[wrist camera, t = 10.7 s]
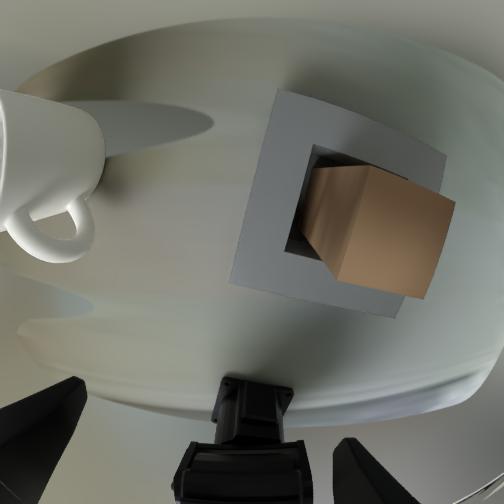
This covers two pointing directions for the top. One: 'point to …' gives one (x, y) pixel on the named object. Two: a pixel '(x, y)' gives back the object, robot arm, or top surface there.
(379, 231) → the walnut post
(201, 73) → the top surface
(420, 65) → the top surface
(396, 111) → the top surface
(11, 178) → the mug
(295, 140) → the well block
